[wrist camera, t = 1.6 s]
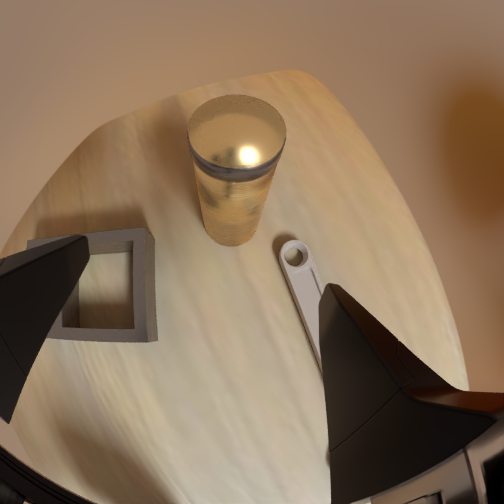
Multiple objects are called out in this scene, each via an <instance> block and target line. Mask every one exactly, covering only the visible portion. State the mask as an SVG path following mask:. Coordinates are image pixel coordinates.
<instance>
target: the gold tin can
mask: <svg viewBox="0 0 504 504" xmlns="http://www.w3.org/2000/svg"><path fill="white" fill-rule="evenodd" d="M285 140H286V125H285V122H284V120H283V118H282V116H281V115H280V113H279V112H278V111H277V110H276V109H275V108H274V107H273V106H271V105H270V104H268V103H267V102H265V101H263V100H260V99H258V98H255V97H251V96H246V95H226V96H221V97H217V98H214V99H212V100H209V101H207V102H206V103H204V104H203V105H201V106H200V107H199V108H198V109H197V110H196V111H195V112H194V113H193V115H192V116H191V118H190V121H189V124H188V142H189V148H190V153H191V157H192V160H193V166H194V172H195V178H196V183H197V189H198V194H199V200H200V205H201V210H202V216H203V221H204V226H205V229H206V232H207V234H208V235H209V236H210V238H211V239H212V240H214V241H215V242H217V243H218V244H221V245H224V246H238V245H242V244H244V243H246V242H247V241H249V240H250V239H251V238H252V237H253V235H254V234H255V232H256V230H257V227H258V223H259V220H260V217H261V214H262V211H263V207H264V204H265V201H266V198H267V195H268V192H269V188H270V185H271V182H272V179H273V176H274V173H275V169H276V166H277V163H278V161H279V159H280V157H281V154H282V151H283V147H284V144H285Z"/></svg>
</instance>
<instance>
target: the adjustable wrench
mask: <svg viewBox="0 0 504 504" xmlns="http://www.w3.org/2000/svg"><path fill="white" fill-rule="evenodd" d="M292 247H294V248H297V249H299V250H300V251H301V252H302V254H303V260H302V262H301V263H300V264H299V265H297V266H292V265H290V264H288V263H287V262H286V260H285V252H286V251H287V250H288V249H289V248H292ZM278 258H279V262H280V265H281V267H282V270H283V273H284V275H285V278H286V280H287V283H288V285H289V288H290V290H291V293H292V295H293V298H294V301H295V303H296V306H297V308H298V311H299V314H300V316H301V319H302V321H303V324H304V327H305V329H306V332H307V335H308V337H309V340H310V343H311V345H312V348H313V351H314V353H315V356H316V359H317V361H318V364H319V367H320V369H321V372H322V364H321V356H320V348H319V312H318V306H319V301H320V299H321V296H322V294H323V291H324V287H323V285H322V282H321V279H320V276H319V274H318V271H317V268H316V266H315V263H314V261H313V258H312V255H311V253H310V250H309V248H308V247H307V245H306V244H304V243H303V242H301V241H299V240H290V241H288V242H286V243H285V244H284V245H283V247H282V248H281V250H280V252H279V257H278ZM322 375H323V373H322Z"/></svg>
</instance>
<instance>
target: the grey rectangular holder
mask: <svg viewBox="0 0 504 504" xmlns="http://www.w3.org/2000/svg"><path fill="white" fill-rule="evenodd" d="M75 235H76V234H75ZM81 235H85V236H86V237H87V238H88V244H89V252H90V255H95V254H108V253H122V252H133V307H134V327H135V329H91V328H79V280H78V282H77V284H76V286H75V288H74V290H73V292H72V293H71V295H70V297H69V298H68V300H67V302H66V303H65V305H64V307H63V308H62V310H61V312H60V314H59V315H58V317H57V319H56V321H55V322H54V324H53V326H52V328H51V330H50V331H49V333H48V335H47V337H46V338H53V339H64V340H79V341H97V342H153V341H158V334H157V319H156V300H155V239H154V238H153V236H152V235H151V234H150V232H149V231H148V230H147V228H146V227H144V228H133V229H122V230H112V231H102V232H92V233H83V234H81ZM69 236H73V235H66V236H58V237H50V238H42V239H34V240H28V242H27V250H28V249H31V248H34V247H37V246H40V245H43V244H46V243H50V242H53V241H56V240H59V239H63V238H66V237H69Z"/></svg>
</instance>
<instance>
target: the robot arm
mask: <svg viewBox="0 0 504 504" xmlns="http://www.w3.org/2000/svg"><path fill="white" fill-rule="evenodd" d="M89 258H90V252H89V244H88V238H87V237H86V236H85V235H81V234H76V235H73V236H69V237H66V238H63V239H59V240H56V241H53V242H50V243H46V244H43V245H40V246H37V247H34V248H31V249H28V250H25V251H22V252H19V253H16V254H13V255H10V256H8V257H6V258H2V259H0V418H1V419H2V420H4V421H5V422H6V423H7V424H9V423H10V421H11V418H12V415H13V412H14V409H15V407H16V404H17V401H18V399H19V396H20V393H21V391H22V389H23V386H24V384H25V381H26V379H27V376H28V374H29V372H30V370H31V368H32V365H33V363H34V361H35V359H36V357H37V355H38V353H39V351H40V349H41V347H42V345H43V343H44V341H45V339H46V337H47V335H48V333H49V331H50V330H51V328H52V326H53V324H54V322H55V321H56V319H57V317H58V315H59V314H60V312H61V310H62V308H63V307H64V305H65V303H66V302H67V300H68V298H69V297H70V295H71V293H72V292H73V290H74V288H75V286H76V284H77V282H78V280H79V278H80V276H81V274H82V273H83V271H84V269H85V267H86V265H87V263H88V261H89ZM318 312H319V348H320V356H321V364H322V373H323V382H324V392H325V402H326V413H327V425H328V439H329V452H330V453H329V457H330V479H331V504H366V503H371V504H504V393H493V392H471V391H463V390H459V389H457V388H455V387H453V386H451V385H450V384H449V383H447V382H446V381H445V380H444V379H443V378H441V377H440V376H439V375H438V374H437V373H435V372H434V371H433V370H432V369H431V368H429V367H428V366H427V365H426V364H425V363H424V362H422V361H421V360H420V359H419V358H418V357H417V356H415V355H414V354H413V353H412V352H411V351H410V350H409V349H408V348H407V347H406V346H405V345H404V344H403V343H402V342H400V341H398V339H397V338H396V337H395V336H394V335H393V334H392V333H391V332H390V331H389V330H388V329H387V328H386V327H384V326H383V325H382V324H381V323H380V322H379V321H378V320H377V319H376V318H375V317H374V316H373V315H371V314H370V313H369V312H368V311H367V310H366V309H365V308H364V307H363V306H362V305H361V304H359V303H358V302H357V301H356V300H355V299H354V298H353V297H352V296H351V295H350V294H348V293H347V292H346V291H345V290H344V289H343V288H342V287H341V286H339V285H338V284H332V283H328V284H327V285H326V287H325V289H324V291H323V294H322V296H321V299H320V301H319V306H318ZM24 501H25V502H27V503H29V504H97V503H95V502H92V501H90V500H88V499H86V498H84V497H82V496H80V495H78V494H76V493H74V492H72V491H70V490H68V489H66V488H64V487H62V486H60V485H59V484H57V483H55V482H53V481H52V480H50V479H48V478H47V477H45V476H43V475H42V474H40V473H39V472H37V471H36V470H34V469H33V468H31V467H30V466H28V465H27V464H25V463H24V462H22V461H21V460H19V459H18V458H17V457H16V456H14V455H13V454H12V453H10V452H9V451H8V450H6V449H5V448H4V447H3V446H1V445H0V504H23V503H24Z"/></svg>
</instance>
